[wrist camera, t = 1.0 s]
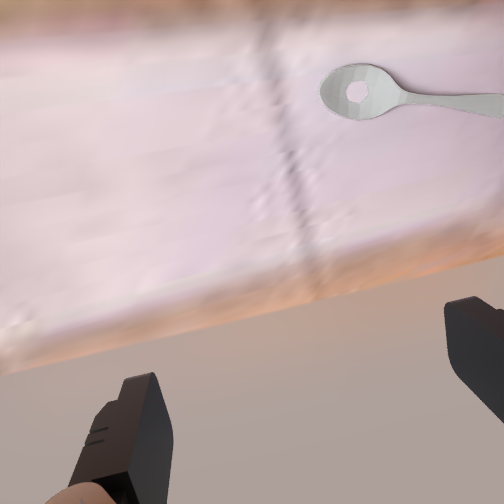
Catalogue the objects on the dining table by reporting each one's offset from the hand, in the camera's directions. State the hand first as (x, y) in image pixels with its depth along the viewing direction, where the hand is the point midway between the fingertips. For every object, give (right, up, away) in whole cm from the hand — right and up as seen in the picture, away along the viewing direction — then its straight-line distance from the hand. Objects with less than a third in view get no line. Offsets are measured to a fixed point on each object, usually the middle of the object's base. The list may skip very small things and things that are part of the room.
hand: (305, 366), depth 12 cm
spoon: (+13, +16, +24) cm, 32 cm away
